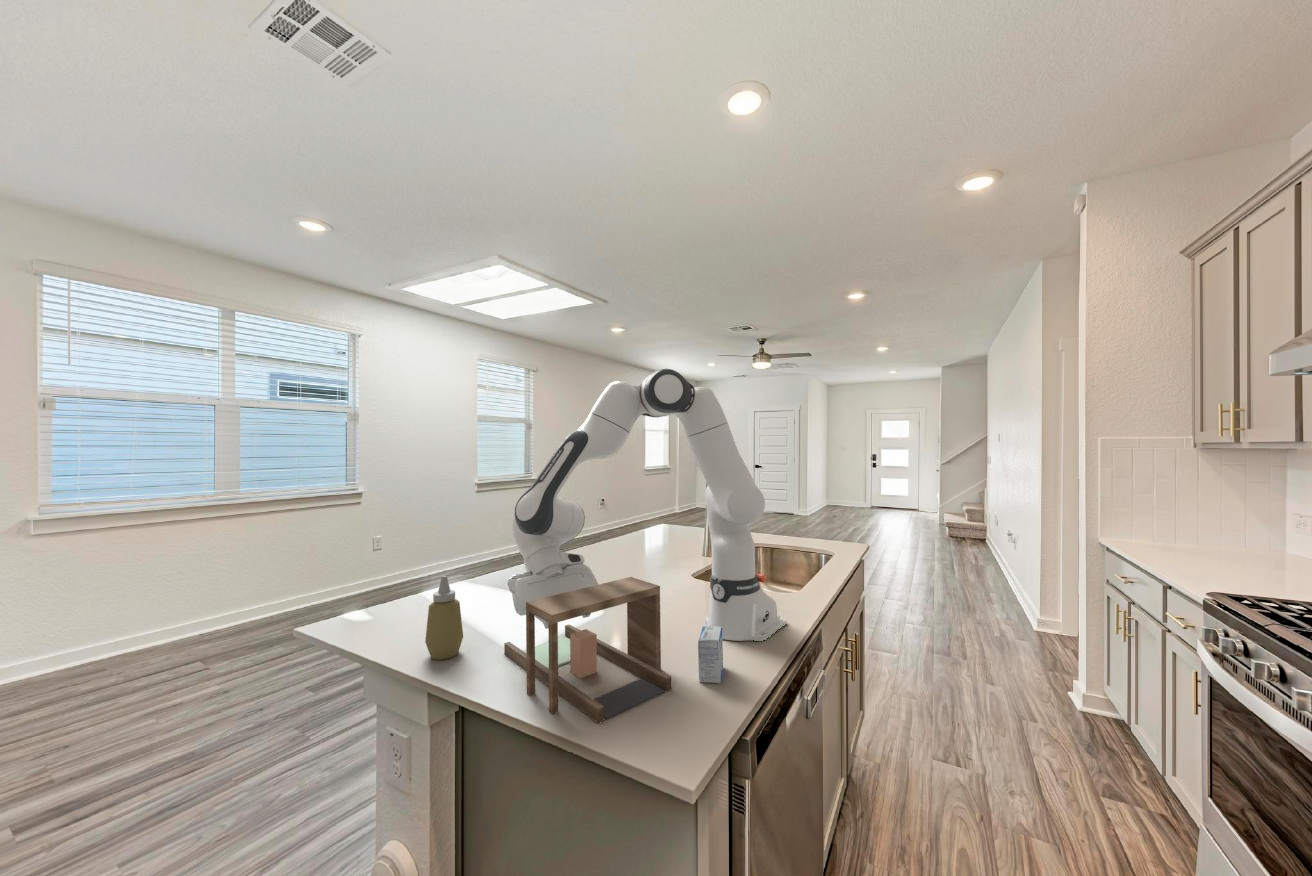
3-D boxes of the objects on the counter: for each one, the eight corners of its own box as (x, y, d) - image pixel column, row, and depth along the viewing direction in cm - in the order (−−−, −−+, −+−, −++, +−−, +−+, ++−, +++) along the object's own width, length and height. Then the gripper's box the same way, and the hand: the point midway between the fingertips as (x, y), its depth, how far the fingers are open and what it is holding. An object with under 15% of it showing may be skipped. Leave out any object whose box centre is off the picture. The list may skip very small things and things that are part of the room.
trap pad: (642, 679, 99) (642, 678, 99) (665, 692, 94) (665, 690, 94) (584, 704, 90) (584, 702, 90) (606, 720, 84) (606, 718, 84)
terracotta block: (586, 666, 105) (586, 629, 105) (596, 672, 102) (596, 634, 102) (570, 671, 103) (570, 633, 103) (580, 678, 100) (580, 639, 100)
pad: (566, 638, 120) (566, 637, 120) (593, 654, 111) (593, 652, 111) (516, 654, 112) (516, 652, 112) (542, 672, 103) (542, 670, 103)
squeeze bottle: (471, 651, 114) (470, 574, 114) (442, 665, 106) (442, 583, 107) (446, 645, 117) (445, 570, 117) (417, 659, 110) (416, 579, 110)
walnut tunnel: (583, 629, 126) (583, 561, 126) (687, 682, 98) (686, 594, 98) (485, 659, 109) (485, 581, 109) (576, 734, 80) (575, 627, 81)
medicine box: (720, 684, 97) (720, 640, 97) (698, 682, 97) (697, 639, 98) (723, 666, 104) (722, 626, 104) (702, 665, 105) (702, 625, 105)
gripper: (509, 568, 106) (530, 625, 98) (588, 554, 119) (612, 603, 112) (500, 584, 109) (520, 641, 102) (578, 568, 123) (601, 617, 115)
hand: (569, 621), depth 107 cm, fingers open, 8 cm apart
